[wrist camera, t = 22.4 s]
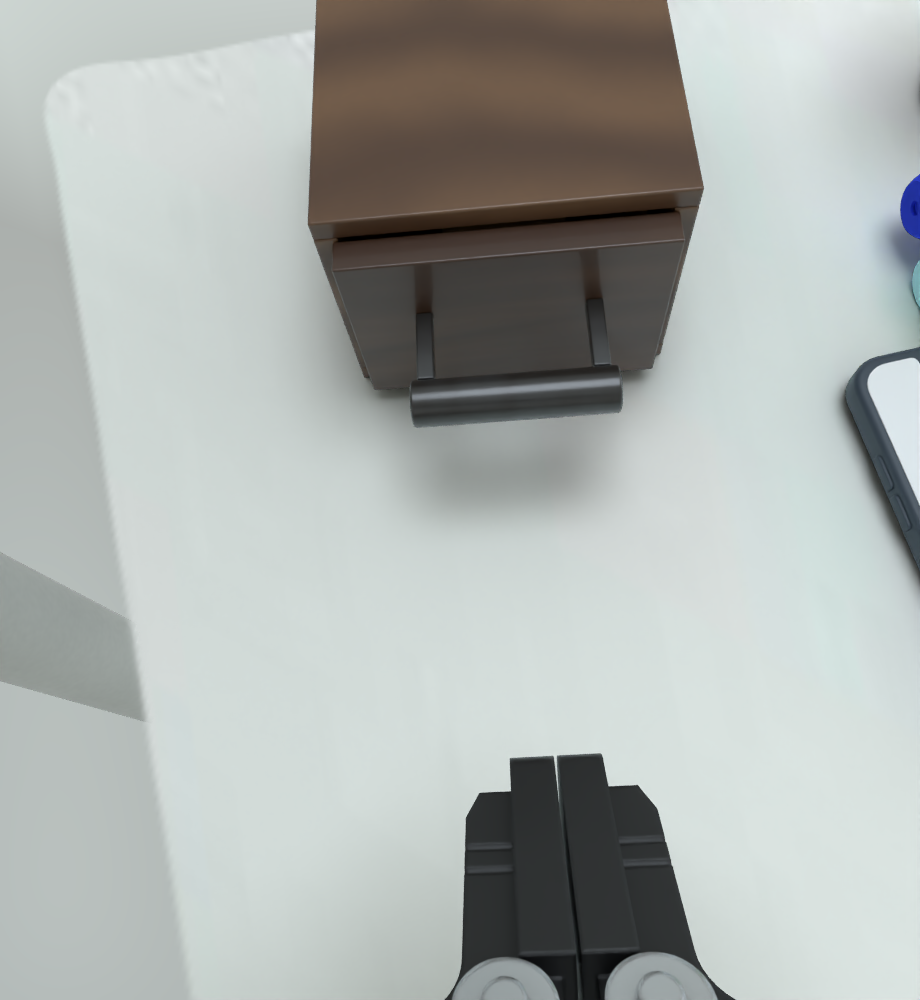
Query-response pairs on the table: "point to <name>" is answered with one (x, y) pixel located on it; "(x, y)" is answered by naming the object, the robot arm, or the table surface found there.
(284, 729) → the table surface
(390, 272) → the drawer
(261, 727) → the table surface
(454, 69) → the cabinet
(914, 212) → the kitchen sponge
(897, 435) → the phone case
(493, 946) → the robot arm
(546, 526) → the table surface
